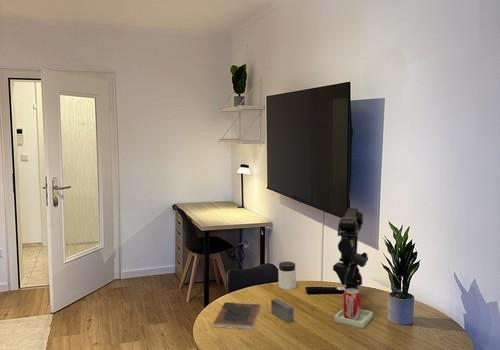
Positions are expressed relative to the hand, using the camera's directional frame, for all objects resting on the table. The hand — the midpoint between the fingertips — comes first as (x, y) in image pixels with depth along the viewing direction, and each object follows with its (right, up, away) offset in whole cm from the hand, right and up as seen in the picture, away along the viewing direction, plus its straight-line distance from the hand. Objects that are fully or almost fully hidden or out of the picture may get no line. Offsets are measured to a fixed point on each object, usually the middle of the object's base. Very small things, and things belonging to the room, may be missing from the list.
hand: (347, 281), depth 202 cm
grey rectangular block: (-29, -14, -4) cm, 32 cm away
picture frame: (-48, -15, -3) cm, 50 cm away
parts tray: (+1, -14, -8) cm, 16 cm away
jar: (-24, -10, +30) cm, 40 cm away
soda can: (0, -14, -8) cm, 16 cm away
